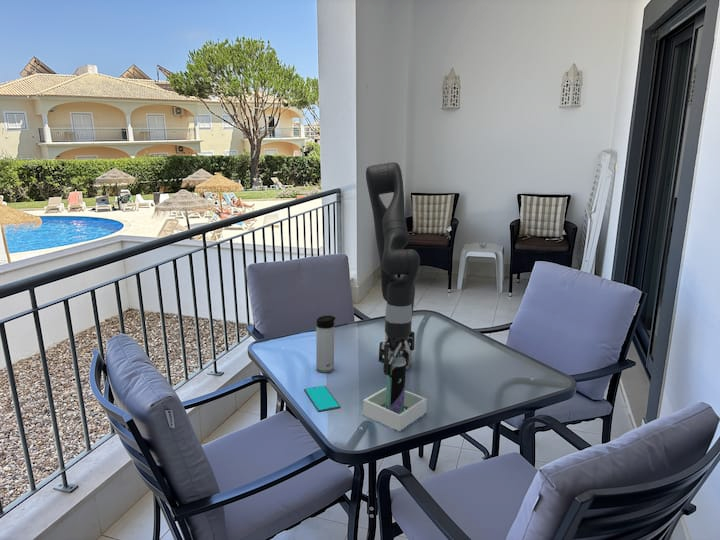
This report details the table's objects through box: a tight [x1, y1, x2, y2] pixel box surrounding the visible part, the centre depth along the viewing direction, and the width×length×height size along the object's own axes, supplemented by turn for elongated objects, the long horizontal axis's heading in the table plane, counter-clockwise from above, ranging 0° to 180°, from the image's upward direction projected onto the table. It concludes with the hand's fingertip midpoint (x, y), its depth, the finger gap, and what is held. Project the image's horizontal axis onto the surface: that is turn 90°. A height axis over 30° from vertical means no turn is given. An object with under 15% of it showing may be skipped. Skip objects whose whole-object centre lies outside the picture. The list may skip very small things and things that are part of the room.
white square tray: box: [362, 387, 428, 430], centre depth 152 cm, size 14×14×5 cm
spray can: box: [385, 351, 407, 414], centre depth 150 cm, size 6×6×20 cm
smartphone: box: [303, 385, 341, 413], centre depth 161 cm, size 7×1×15 cm
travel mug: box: [315, 315, 336, 374], centre depth 179 cm, size 6×7×20 cm
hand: (396, 369), depth 149 cm, fingers open, 8 cm apart
